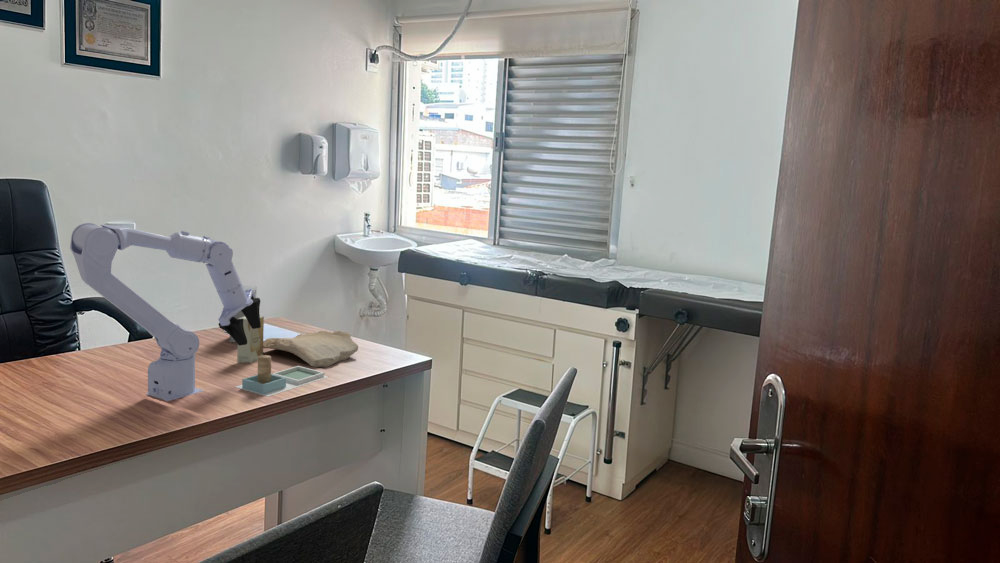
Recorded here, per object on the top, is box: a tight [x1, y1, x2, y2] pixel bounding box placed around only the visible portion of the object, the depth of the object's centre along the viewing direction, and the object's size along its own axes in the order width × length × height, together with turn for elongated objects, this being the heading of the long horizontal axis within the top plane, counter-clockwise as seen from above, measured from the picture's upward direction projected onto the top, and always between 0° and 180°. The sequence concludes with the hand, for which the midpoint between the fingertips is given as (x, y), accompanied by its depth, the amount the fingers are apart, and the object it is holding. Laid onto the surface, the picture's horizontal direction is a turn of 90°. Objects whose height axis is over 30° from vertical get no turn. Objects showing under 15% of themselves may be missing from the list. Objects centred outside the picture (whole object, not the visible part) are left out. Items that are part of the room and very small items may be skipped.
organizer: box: [235, 365, 329, 398], centre depth 174 cm, size 20×11×2 cm, turn 151°
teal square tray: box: [241, 373, 286, 394], centre depth 169 cm, size 7×7×2 cm
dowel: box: [257, 354, 272, 384], centre depth 168 cm, size 3×3×8 cm
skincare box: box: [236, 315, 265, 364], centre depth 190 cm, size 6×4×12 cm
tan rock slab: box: [263, 330, 359, 368], centre depth 200 cm, size 24×8×20 cm
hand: (250, 335), depth 173 cm, fingers open, 7 cm apart
